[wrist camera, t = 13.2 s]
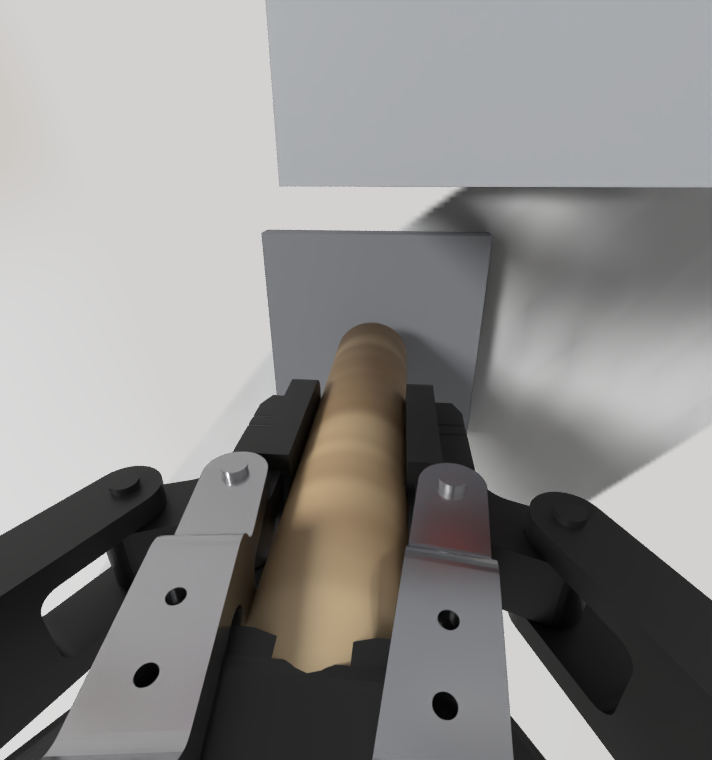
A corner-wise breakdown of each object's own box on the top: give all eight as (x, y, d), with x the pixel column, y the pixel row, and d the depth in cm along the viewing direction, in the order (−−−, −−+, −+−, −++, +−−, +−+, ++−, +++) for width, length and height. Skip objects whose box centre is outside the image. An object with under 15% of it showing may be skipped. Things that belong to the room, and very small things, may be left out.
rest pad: (267, 229, 16) (261, 233, 16) (488, 232, 16) (492, 236, 15) (284, 415, 20) (279, 424, 19) (464, 423, 19) (466, 434, 19)
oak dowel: (336, 321, 16) (194, 682, 5) (408, 323, 15) (417, 705, 5) (338, 384, 17) (225, 786, 6) (404, 386, 17) (406, 809, 6)
